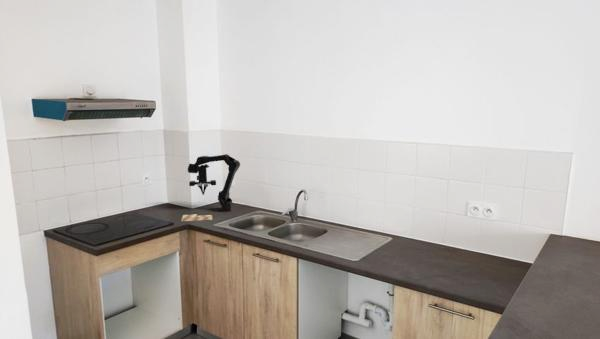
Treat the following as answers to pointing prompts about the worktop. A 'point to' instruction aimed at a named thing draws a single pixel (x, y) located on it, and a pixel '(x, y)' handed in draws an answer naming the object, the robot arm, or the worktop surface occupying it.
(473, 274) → the worktop surface
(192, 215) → the plank
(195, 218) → the floor strip
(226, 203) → the robot arm
